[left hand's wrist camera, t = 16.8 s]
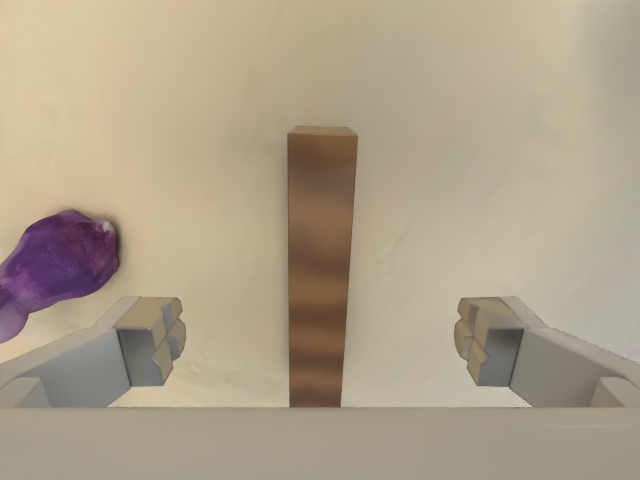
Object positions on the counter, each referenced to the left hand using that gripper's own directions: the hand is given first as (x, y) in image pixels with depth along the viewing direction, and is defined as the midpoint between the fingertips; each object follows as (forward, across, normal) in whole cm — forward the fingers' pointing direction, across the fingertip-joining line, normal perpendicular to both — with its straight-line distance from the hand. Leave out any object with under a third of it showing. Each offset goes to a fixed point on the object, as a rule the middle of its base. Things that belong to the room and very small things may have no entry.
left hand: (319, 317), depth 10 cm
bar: (+25, 0, -10) cm, 27 cm away
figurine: (+25, -25, -9) cm, 37 cm away
